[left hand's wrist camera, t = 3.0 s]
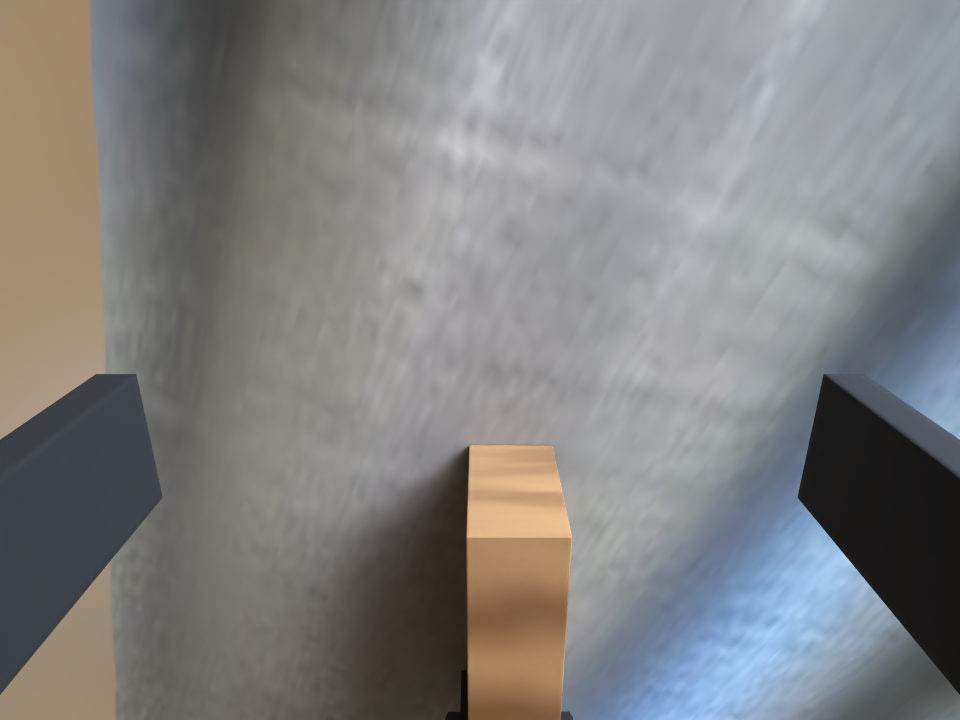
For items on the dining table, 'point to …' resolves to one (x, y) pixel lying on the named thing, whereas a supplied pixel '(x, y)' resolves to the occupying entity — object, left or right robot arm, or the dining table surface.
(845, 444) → the left robot arm
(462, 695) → the right robot arm
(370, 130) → the dining table surface
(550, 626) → the long box
